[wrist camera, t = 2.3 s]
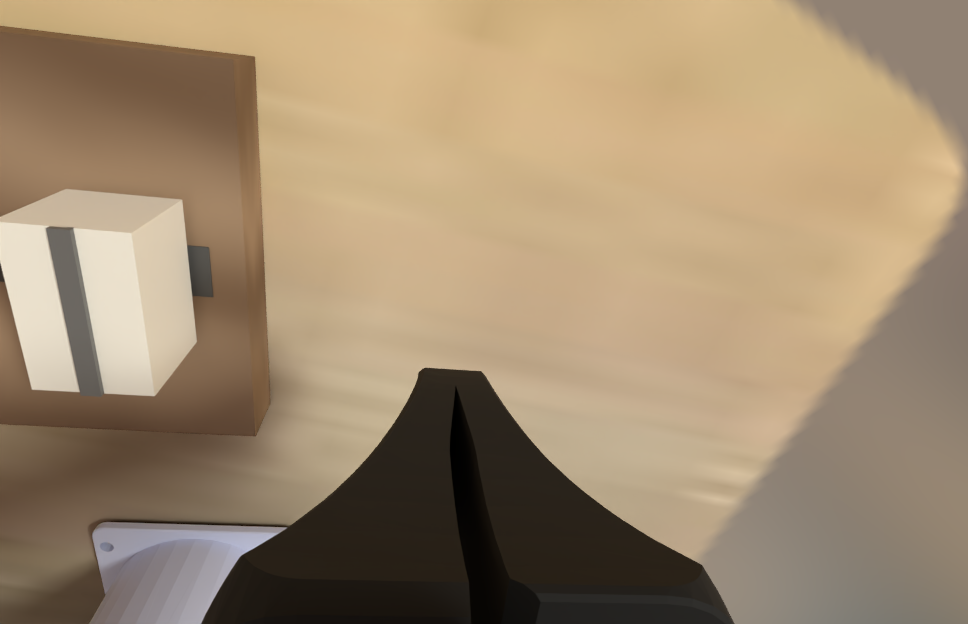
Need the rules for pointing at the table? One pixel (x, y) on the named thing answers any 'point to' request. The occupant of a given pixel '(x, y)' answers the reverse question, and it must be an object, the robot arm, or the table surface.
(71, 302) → the fader knob
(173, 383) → the fader console
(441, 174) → the table surface
